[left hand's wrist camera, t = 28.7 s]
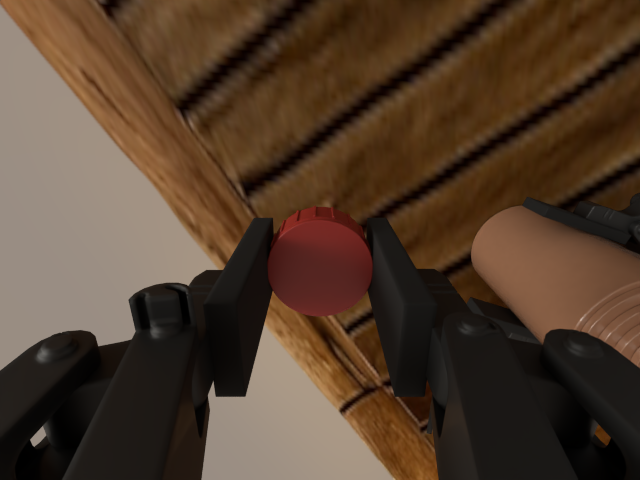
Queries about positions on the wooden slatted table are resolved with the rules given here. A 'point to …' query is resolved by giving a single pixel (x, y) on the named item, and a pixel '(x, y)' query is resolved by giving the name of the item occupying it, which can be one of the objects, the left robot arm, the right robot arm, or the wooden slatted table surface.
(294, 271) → the cap
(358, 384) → the wooden slatted table surface
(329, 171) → the wooden slatted table surface
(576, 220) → the right robot arm
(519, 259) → the bottle
